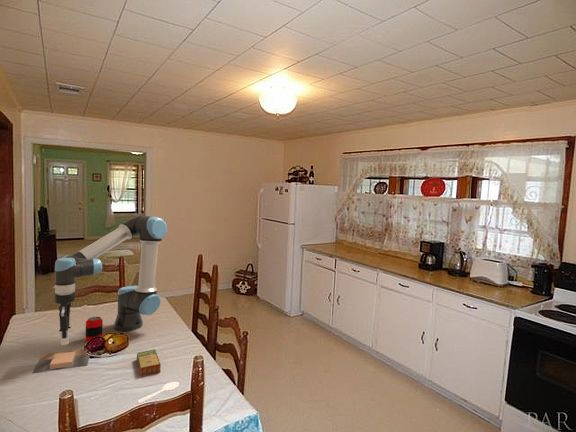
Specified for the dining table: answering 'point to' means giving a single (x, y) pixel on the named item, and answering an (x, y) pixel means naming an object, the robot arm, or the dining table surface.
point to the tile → (62, 360)
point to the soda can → (93, 328)
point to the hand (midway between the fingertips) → (64, 343)
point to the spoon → (165, 388)
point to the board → (46, 359)
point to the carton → (148, 362)
